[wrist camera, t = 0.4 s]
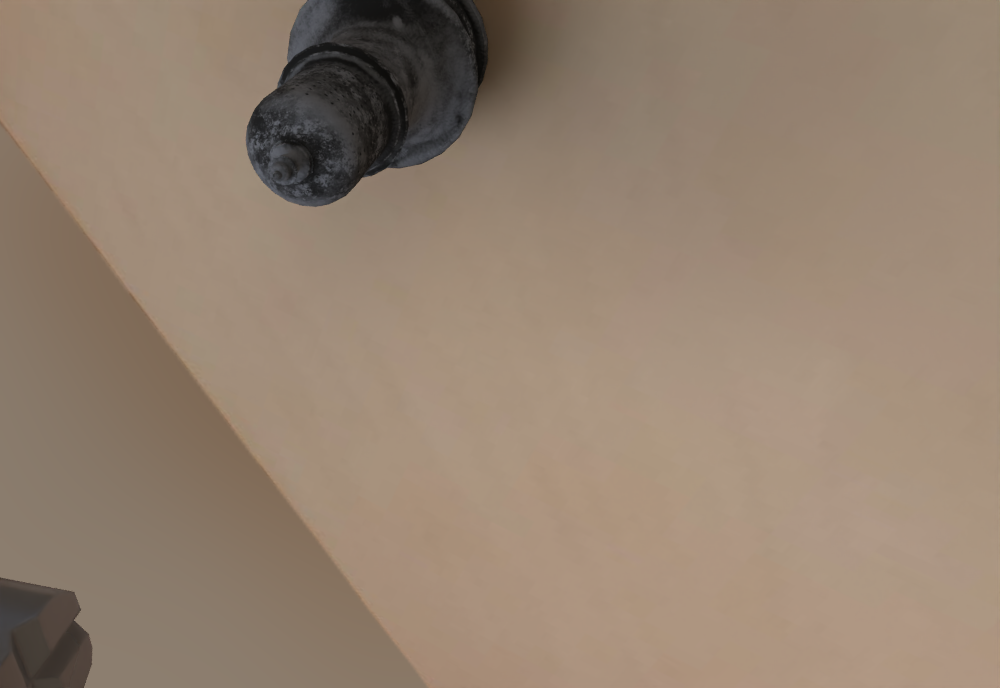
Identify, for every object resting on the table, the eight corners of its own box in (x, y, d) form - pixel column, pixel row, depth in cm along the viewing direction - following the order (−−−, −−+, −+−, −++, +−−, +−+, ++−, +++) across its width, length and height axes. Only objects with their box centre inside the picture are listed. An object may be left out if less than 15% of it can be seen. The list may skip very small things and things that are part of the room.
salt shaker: (401, 163, 31) (277, 335, 21) (290, 25, 29) (94, 141, 19) (532, 68, 29) (461, 213, 19) (420, -90, 27) (274, -25, 17)
